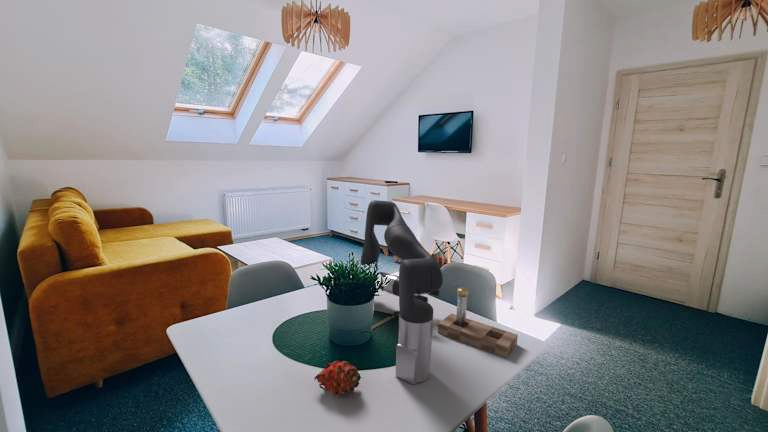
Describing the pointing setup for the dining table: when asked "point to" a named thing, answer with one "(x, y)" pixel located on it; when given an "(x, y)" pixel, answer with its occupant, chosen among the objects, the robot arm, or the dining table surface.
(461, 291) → the gold-capped metal cylinder
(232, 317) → the dining table surface
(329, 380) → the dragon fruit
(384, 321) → the tomahawk
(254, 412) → the dining table surface
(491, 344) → the stand
